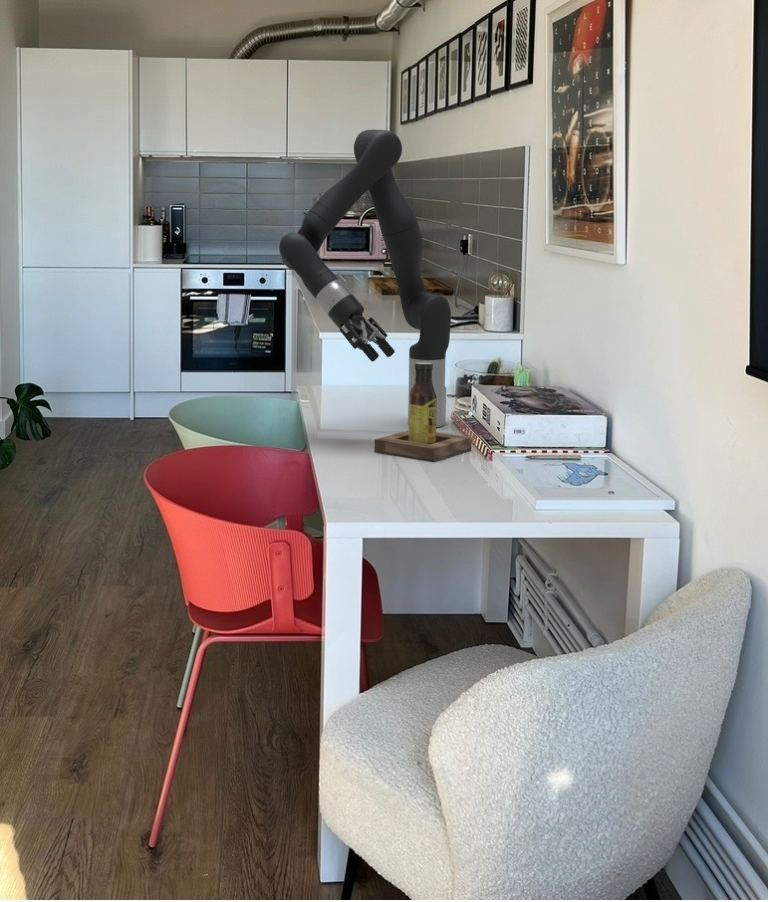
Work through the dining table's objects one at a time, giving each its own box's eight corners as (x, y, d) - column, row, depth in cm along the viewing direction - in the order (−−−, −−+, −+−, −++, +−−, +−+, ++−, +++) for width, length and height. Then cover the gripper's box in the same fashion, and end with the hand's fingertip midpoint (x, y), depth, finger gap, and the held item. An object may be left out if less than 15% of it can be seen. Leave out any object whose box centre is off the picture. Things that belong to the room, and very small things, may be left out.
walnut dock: (413, 441, 288) (413, 428, 287) (471, 450, 279) (471, 437, 278) (374, 452, 275) (374, 439, 274) (433, 461, 266) (433, 448, 265)
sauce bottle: (433, 452, 273) (435, 365, 269) (406, 451, 274) (407, 364, 270) (437, 447, 279) (439, 361, 275) (411, 445, 280) (412, 360, 276)
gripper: (335, 295, 271) (381, 349, 269) (363, 291, 284) (407, 342, 281) (314, 317, 274) (359, 371, 272) (343, 312, 287) (386, 363, 285)
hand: (384, 356), depth 277 cm, fingers open, 8 cm apart
